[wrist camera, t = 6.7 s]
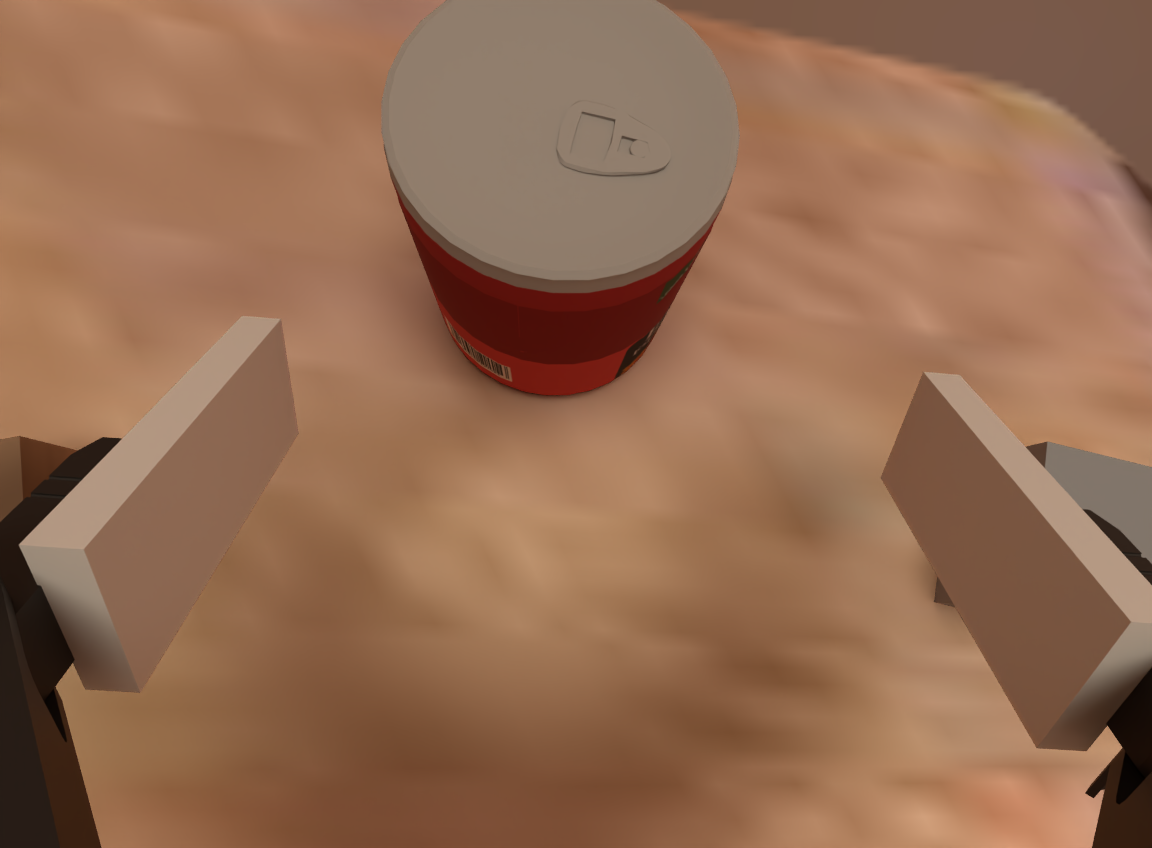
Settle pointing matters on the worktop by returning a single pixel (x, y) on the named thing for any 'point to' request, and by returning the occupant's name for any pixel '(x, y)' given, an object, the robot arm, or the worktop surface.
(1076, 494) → the slate-grey block
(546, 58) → the canned food
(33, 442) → the walnut block
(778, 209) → the worktop surface
